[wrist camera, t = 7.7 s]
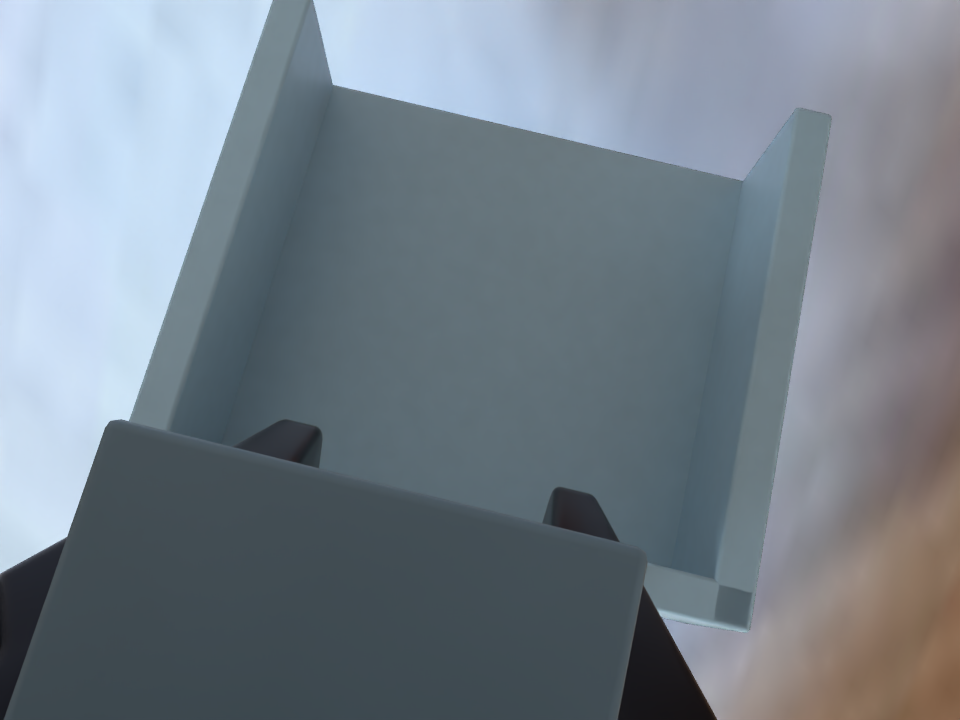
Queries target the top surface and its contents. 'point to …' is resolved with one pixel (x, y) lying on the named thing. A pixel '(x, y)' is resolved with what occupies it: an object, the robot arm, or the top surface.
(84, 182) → the top surface
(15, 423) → the top surface
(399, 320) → the pale blue channel tray
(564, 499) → the robot arm
